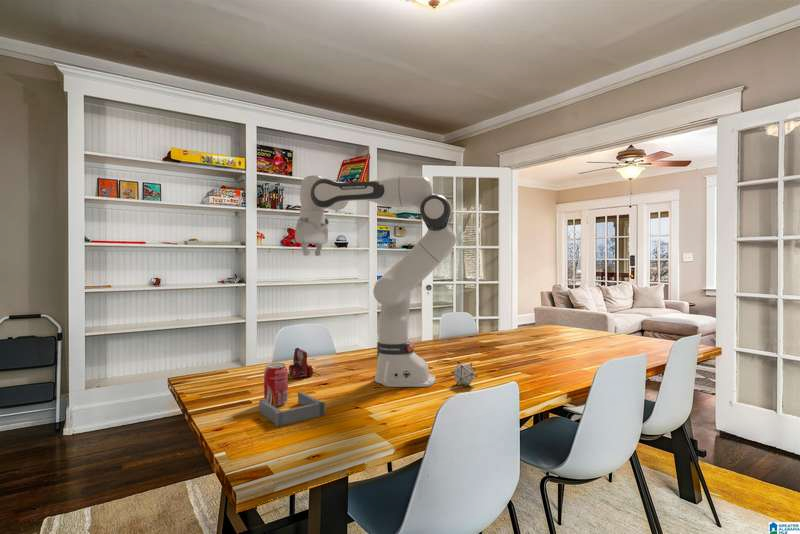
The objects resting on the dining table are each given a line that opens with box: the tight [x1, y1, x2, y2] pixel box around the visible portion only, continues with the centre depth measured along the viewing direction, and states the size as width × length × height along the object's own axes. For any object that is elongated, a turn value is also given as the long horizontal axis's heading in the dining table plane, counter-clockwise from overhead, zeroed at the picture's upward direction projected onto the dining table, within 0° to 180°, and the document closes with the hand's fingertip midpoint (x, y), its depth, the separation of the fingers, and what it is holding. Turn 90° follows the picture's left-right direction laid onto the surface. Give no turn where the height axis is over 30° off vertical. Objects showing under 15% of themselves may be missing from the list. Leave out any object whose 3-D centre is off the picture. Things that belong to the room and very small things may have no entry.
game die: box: [450, 361, 478, 388], centre depth 153 cm, size 9×8×10 cm
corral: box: [258, 391, 326, 428], centre depth 126 cm, size 14×15×4 cm
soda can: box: [263, 362, 289, 407], centre depth 134 cm, size 7×7×12 cm
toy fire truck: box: [288, 347, 314, 379], centre depth 168 cm, size 7×12×10 cm, turn 31°
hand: (312, 255), depth 165 cm, fingers open, 8 cm apart
